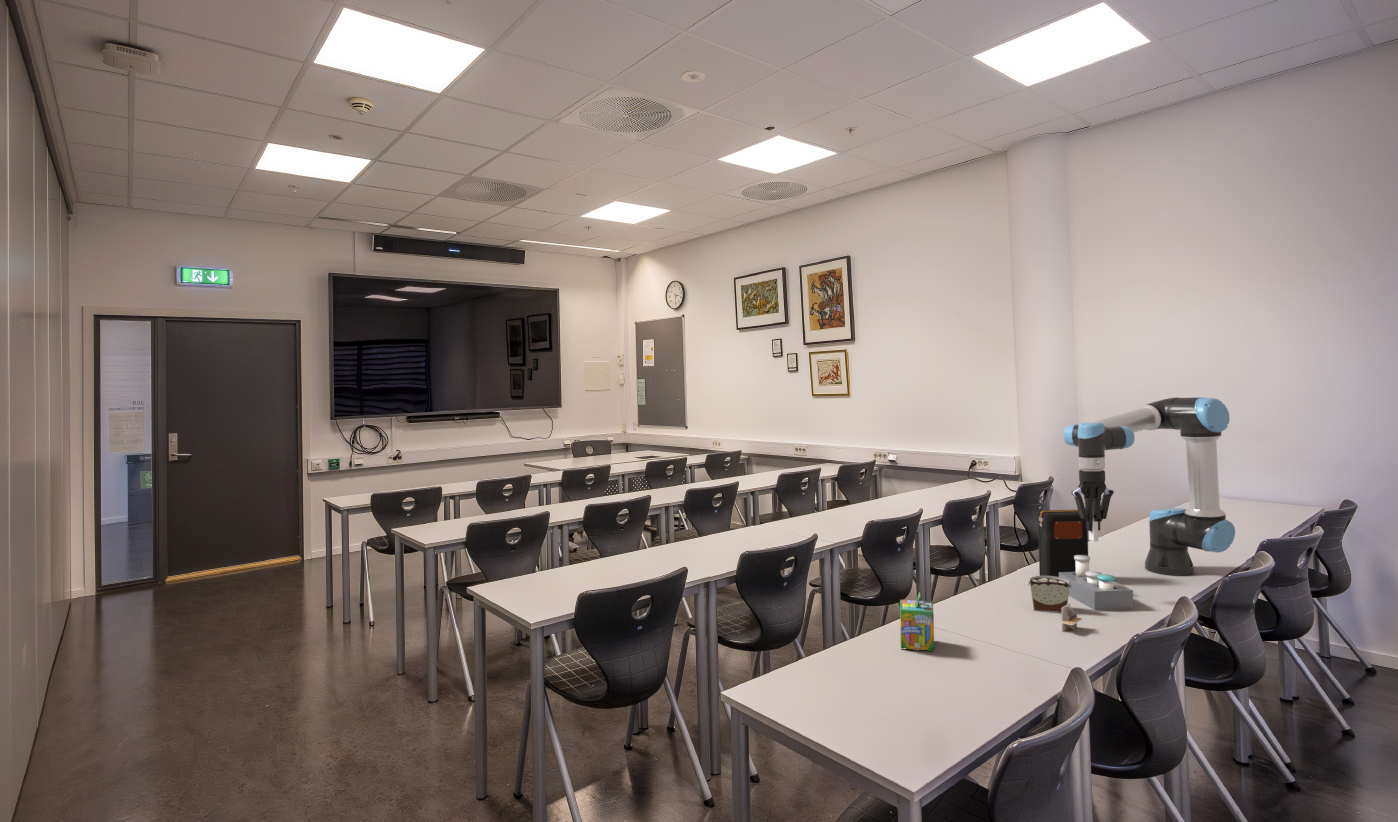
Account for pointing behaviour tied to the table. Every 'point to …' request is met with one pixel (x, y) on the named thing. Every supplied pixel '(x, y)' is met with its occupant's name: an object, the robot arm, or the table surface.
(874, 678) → the table surface
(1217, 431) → the robot arm
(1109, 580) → the teal plug
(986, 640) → the table surface
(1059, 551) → the voltmeter
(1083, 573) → the grey plug end
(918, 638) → the chalk box
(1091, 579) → the grey plug middle
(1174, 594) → the table surface
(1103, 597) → the panel
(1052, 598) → the food container
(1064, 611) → the architectural model
